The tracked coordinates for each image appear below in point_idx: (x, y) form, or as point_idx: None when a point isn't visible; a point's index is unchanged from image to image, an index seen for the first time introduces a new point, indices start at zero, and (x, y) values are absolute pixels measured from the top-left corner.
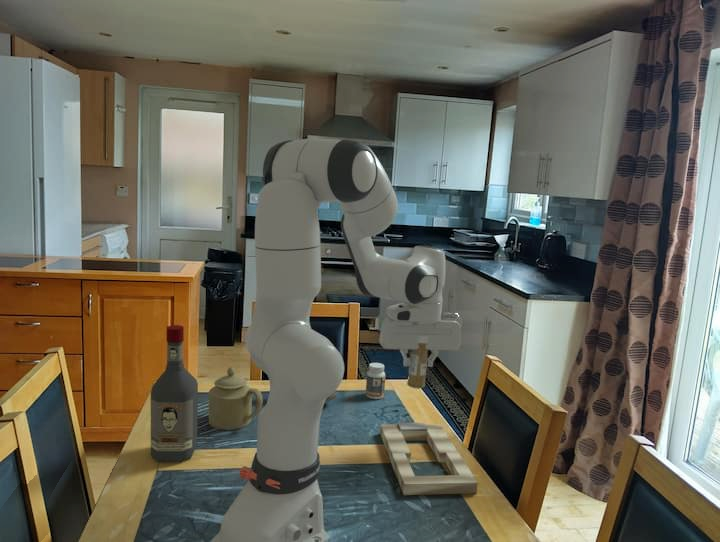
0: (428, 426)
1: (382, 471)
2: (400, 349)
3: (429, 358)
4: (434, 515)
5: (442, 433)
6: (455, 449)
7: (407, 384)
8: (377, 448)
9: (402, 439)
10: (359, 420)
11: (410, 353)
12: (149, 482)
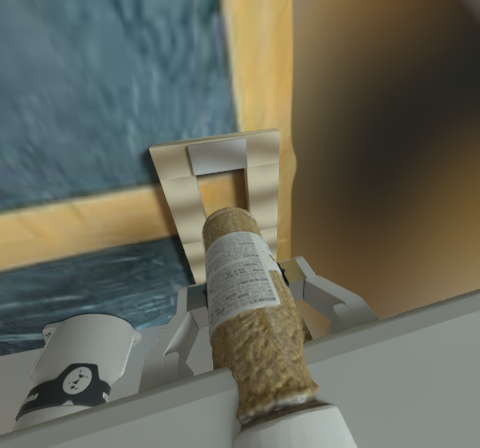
0: (252, 145)
1: (173, 252)
2: (145, 376)
3: (305, 287)
4: None
5: (272, 172)
6: (276, 220)
7: (202, 235)
8: (157, 200)
9: (198, 204)
10: (82, 66)
11: (210, 342)
12: None
